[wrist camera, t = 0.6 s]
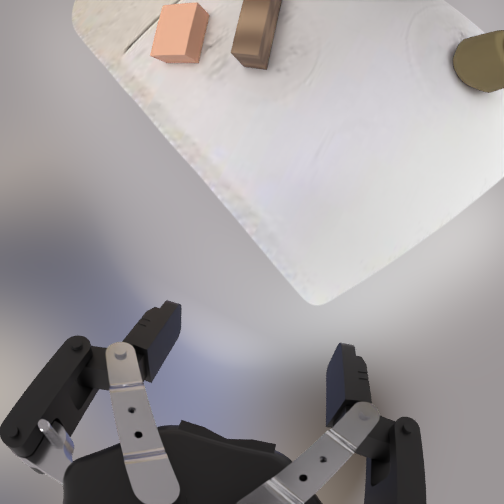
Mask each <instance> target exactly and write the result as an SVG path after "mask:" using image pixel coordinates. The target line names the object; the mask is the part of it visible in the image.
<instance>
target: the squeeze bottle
mask: <svg viewBox="0 0 504 504" xmlns="http://www.w3.org/2000/svg"><path fill="white" fill-rule="evenodd" d="M453 65H454V69H455V71H456V73H457V75H458V77H459V78H460V79H461V80H462V81H463V82H464V83H465V84H467V85H468V86H470V87H473V88H475V89H478V90H481V91H484V92H488V93H489V92H493V91H496V90H499V89H502V88H504V30H499V31H494V32H490V33H485V34H481V35H478V36H474V37H470V38H467V39H463V41H462V42H461V43H460V44H459V45H458V47H457V50H456V52H455V54H454V58H453Z"/></svg>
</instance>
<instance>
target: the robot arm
mask: <svg viewBox="0 0 504 504" xmlns="http://www.w3.org/2000/svg"><path fill="white" fill-rule="evenodd" d="M180 330H181V305H180V304H177V303H174V302H171V301H165V303H164V304H163V305H162V306H161V308H157V307H154V308H152V309H150V310H148V311H147V312H146V313H145V314H144V315H143V317H142V319H140V320H139V322H138V323H137V324H136V325H135V326H134V328H133V329H132V330H131V331H130V333H129V334H128V335H127V336H126V338H125V339H124V340H123V341H122V342H116V343H113V344H111V345H110V346H109V347H108V348H102V347H95V346H91V344H90V341H89V340H88V339H87V338H86V337H83V336H73V337H70V338H69V339H67V340H66V341H65V342H64V344H63V345H62V346H61V347H60V348H59V350H58V351H57V352H56V353H55V354H54V356H53V357H52V358H51V359H50V360H49V362H48V363H47V364H46V365H45V367H44V368H43V369H42V370H41V372H40V373H39V374H38V375H37V377H36V378H35V379H34V381H33V382H32V383H31V385H30V386H29V387H28V388H27V390H26V391H25V392H24V394H23V395H22V396H21V398H20V399H19V400H18V402H17V403H16V404H15V406H14V407H13V408H12V410H11V411H10V413H9V414H8V416H7V417H6V418H5V420H4V421H3V423H2V424H1V427H0V437H1V439H2V441H3V442H4V443H5V444H6V445H7V446H8V447H9V448H10V449H11V450H12V452H13V453H14V454H15V455H16V456H17V457H18V458H19V459H20V460H22V461H23V462H24V463H25V464H26V465H28V466H29V467H31V468H32V469H33V470H34V471H36V472H38V473H40V474H46V475H48V476H49V477H51V478H52V479H54V480H55V481H57V482H59V483H60V484H62V485H63V489H64V499H63V504H322V503H321V501H320V500H319V498H318V497H317V495H316V494H315V493H316V492H317V491H318V490H319V489H320V488H321V487H322V486H323V485H324V484H325V483H326V482H327V481H328V480H329V479H330V478H331V477H332V476H333V475H334V474H335V473H336V472H337V471H338V470H339V469H340V468H341V467H342V466H343V464H344V463H345V462H346V461H347V460H348V459H349V458H350V457H351V456H352V454H353V453H357V454H359V455H362V456H365V457H366V484H365V499H364V504H426V484H425V471H424V459H423V450H422V442H421V434H420V428H419V425H418V424H417V422H416V421H415V420H413V419H412V418H409V417H401V418H399V419H398V420H397V421H396V422H395V421H392V420H390V419H387V418H384V417H382V416H380V414H379V411H378V409H377V408H376V407H375V406H374V405H373V404H372V401H371V393H370V386H369V381H368V374H367V366H366V363H365V362H364V360H363V359H362V357H360V356H356V354H355V347H354V346H353V345H349V344H344V343H339V344H338V346H337V348H336V350H335V352H334V354H333V356H332V358H331V361H330V362H329V365H328V368H327V373H326V387H327V388H326V427H331V428H332V429H330V430H328V431H327V432H326V433H324V435H322V436H321V437H320V438H319V439H318V440H317V441H316V442H315V443H314V444H313V445H312V446H310V447H309V448H308V449H307V450H306V451H305V452H304V453H302V454H301V455H300V456H299V457H298V458H297V459H296V460H294V461H293V462H292V461H291V460H290V459H289V458H288V457H286V456H285V455H284V454H282V453H280V452H278V451H276V450H275V446H276V444H272V443H266V442H262V441H257V440H243V439H226V438H224V437H222V436H220V435H218V434H216V433H214V432H212V431H210V430H208V429H206V428H205V427H202V426H199V425H196V424H192V423H189V422H186V421H183V420H181V423H180V425H179V426H178V425H167V426H160V427H157V426H156V423H155V420H154V417H153V414H152V411H151V407H150V404H149V401H148V397H147V394H146V390H145V386H144V383H143V382H144V380H146V381H148V382H151V383H152V381H153V379H154V377H155V376H156V374H157V373H158V371H159V369H160V367H161V366H162V364H163V362H164V360H165V359H166V357H167V355H168V354H169V352H170V351H171V349H172V347H173V346H174V344H175V342H176V340H177V339H178V337H179V334H180ZM99 389H103V390H109V391H110V397H111V403H112V408H113V413H114V418H115V422H116V427H117V432H118V436H119V440H120V443H118V444H116V445H113V446H111V447H108V448H106V449H103V450H101V451H98V452H95V453H92V454H90V455H87V456H84V457H81V458H79V459H76V460H75V461H73V460H72V454H73V451H74V443H73V441H72V439H71V438H70V437H71V435H72V434H73V432H74V430H75V428H76V427H77V425H78V423H79V421H80V420H81V418H82V416H83V415H84V413H85V411H86V410H87V408H88V406H89V405H90V403H91V401H92V400H93V398H94V396H95V395H96V393H97V392H98V390H99Z"/></svg>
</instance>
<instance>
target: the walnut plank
mask: <svg viewBox="0 0 504 504" xmlns="http://www.w3.org/2000/svg"><path fill="white" fill-rule="evenodd" d="M281 1H282V0H244V1H243V4H242V8H241V12H240V16H239V20H238V24H237V28H236V33H235V37H234V41H233V46H232V50H231V53H232V54H233V55H234V57H235V58H236V59H237V60H238V61H239V62H240V63H241V64H242V65H243V66H244V67H251V68H259V69H266V70H267V65H268V61H269V56H270V51H271V46H272V42H273V37H274V33H275V28H276V23H277V19H278V14H279V10H280V6H281Z"/></svg>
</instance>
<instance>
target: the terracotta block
mask: <svg viewBox="0 0 504 504" xmlns="http://www.w3.org/2000/svg"><path fill="white" fill-rule="evenodd" d="M208 19H209V14H208V13H207V12H206V11H205V10H204V9H203V8H202V7H201V6H200V5H199V4H198V3H184V4H173V5H164V6H163V7H162V11H161V14H160V18H159V21H158V25H157V29H156V33H155V37H154V41H153V46H152V50H151V54H150V56H152V57H154V58H156V59H159V60H161V61H164V62H166V63H199V59H200V54H201V49H202V45H203V40H204V36H205V32H206V27H207V23H208Z"/></svg>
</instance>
